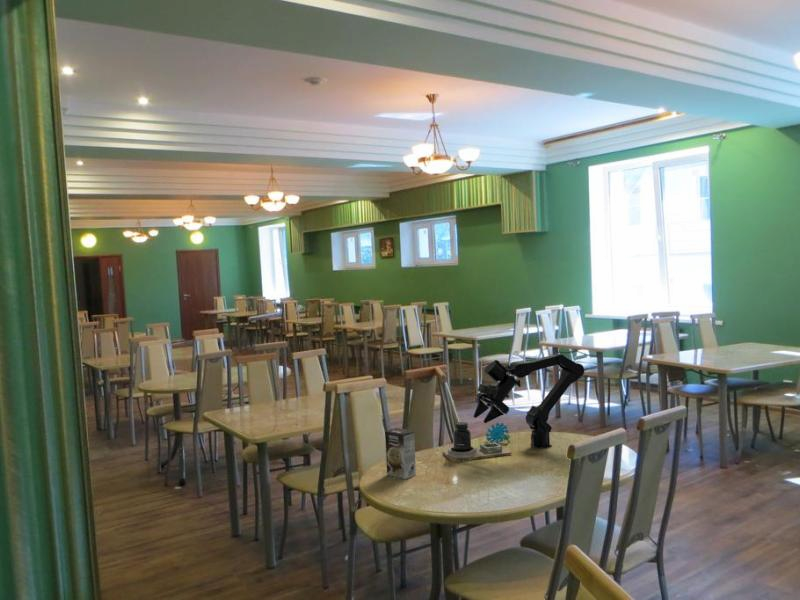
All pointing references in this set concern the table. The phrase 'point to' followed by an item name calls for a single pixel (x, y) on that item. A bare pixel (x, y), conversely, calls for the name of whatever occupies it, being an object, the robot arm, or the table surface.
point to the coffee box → (400, 453)
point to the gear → (498, 433)
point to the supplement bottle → (461, 437)
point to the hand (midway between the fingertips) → (479, 419)
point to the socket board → (477, 452)
